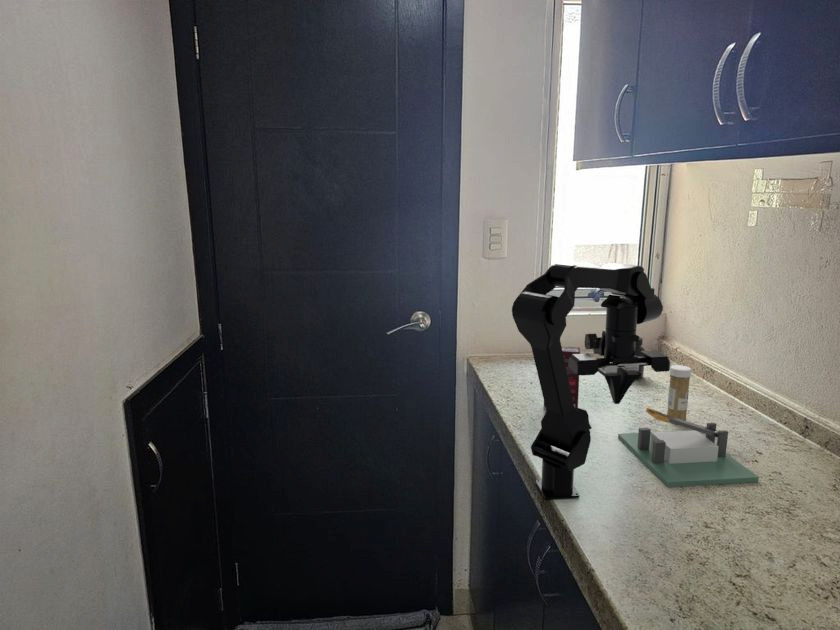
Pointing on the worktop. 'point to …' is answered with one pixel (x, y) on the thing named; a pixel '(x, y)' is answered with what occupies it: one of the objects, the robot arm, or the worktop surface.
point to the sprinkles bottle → (678, 391)
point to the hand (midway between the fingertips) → (616, 403)
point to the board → (691, 469)
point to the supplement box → (571, 373)
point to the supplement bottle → (637, 350)
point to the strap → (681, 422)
